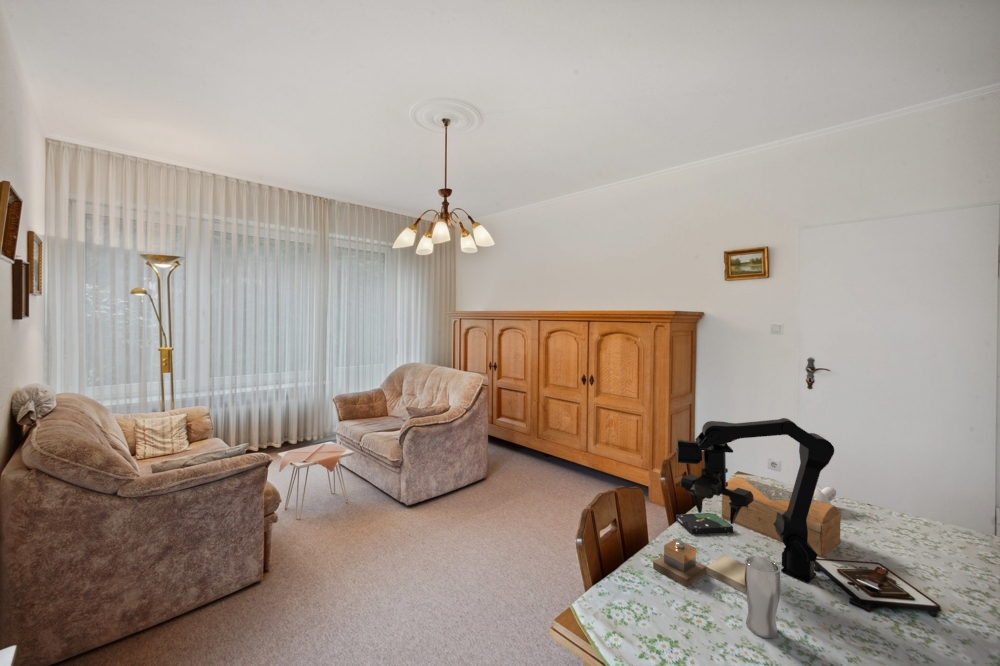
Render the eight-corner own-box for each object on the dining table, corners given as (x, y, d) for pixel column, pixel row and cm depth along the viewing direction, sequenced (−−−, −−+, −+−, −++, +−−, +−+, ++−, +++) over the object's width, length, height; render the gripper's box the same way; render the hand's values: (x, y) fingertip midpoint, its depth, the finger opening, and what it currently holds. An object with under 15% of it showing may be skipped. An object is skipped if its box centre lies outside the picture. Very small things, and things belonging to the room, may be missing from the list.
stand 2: (761, 578, 110) (761, 571, 110) (744, 592, 105) (744, 585, 105) (723, 561, 119) (723, 554, 119) (706, 573, 113) (706, 566, 113)
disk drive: (692, 537, 133) (734, 534, 135) (692, 528, 133) (734, 526, 135) (675, 522, 144) (714, 519, 145) (675, 514, 144) (714, 511, 145)
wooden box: (843, 544, 128) (844, 500, 128) (821, 560, 120) (821, 513, 119) (745, 507, 154) (745, 471, 154) (720, 518, 145) (721, 480, 145)
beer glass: (736, 618, 96) (737, 556, 95) (764, 616, 96) (765, 554, 96) (758, 641, 89) (759, 574, 88) (787, 639, 89) (788, 572, 89)
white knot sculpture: (793, 508, 153) (794, 484, 153) (800, 498, 161) (801, 476, 161) (831, 518, 145) (832, 493, 145) (837, 508, 153) (837, 484, 153)
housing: (695, 565, 113) (695, 544, 113) (684, 573, 110) (684, 551, 110) (675, 555, 118) (675, 535, 118) (663, 562, 115) (664, 541, 114)
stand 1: (706, 573, 113) (706, 566, 113) (686, 586, 107) (686, 579, 107) (673, 556, 121) (673, 550, 121) (653, 568, 115) (653, 561, 115)
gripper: (670, 463, 122) (671, 514, 122) (736, 481, 107) (737, 539, 107) (689, 455, 128) (690, 504, 129) (753, 471, 113) (754, 526, 114)
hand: (715, 517), depth 119 cm, fingers open, 9 cm apart
